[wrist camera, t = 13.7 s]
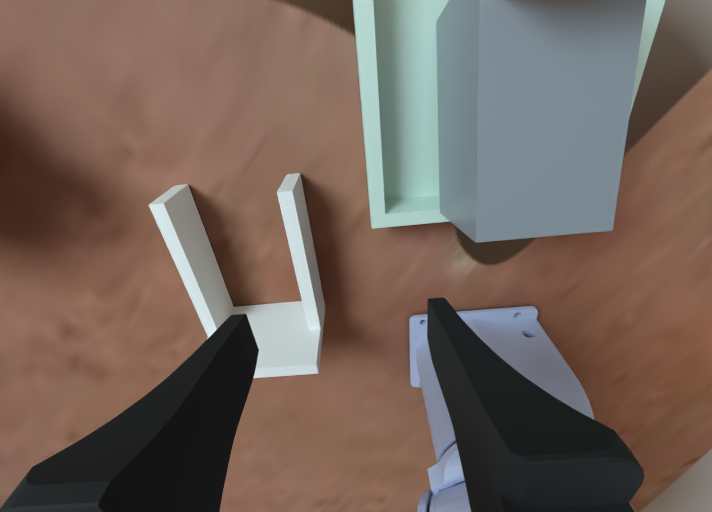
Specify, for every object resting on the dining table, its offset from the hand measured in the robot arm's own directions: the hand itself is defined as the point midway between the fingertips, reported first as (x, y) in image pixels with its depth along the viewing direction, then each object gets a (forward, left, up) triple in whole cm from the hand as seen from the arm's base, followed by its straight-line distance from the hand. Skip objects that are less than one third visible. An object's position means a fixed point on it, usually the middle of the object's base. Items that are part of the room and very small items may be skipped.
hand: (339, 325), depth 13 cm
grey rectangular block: (-8, -6, -8) cm, 13 cm away
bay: (+6, +1, -9) cm, 11 cm away
